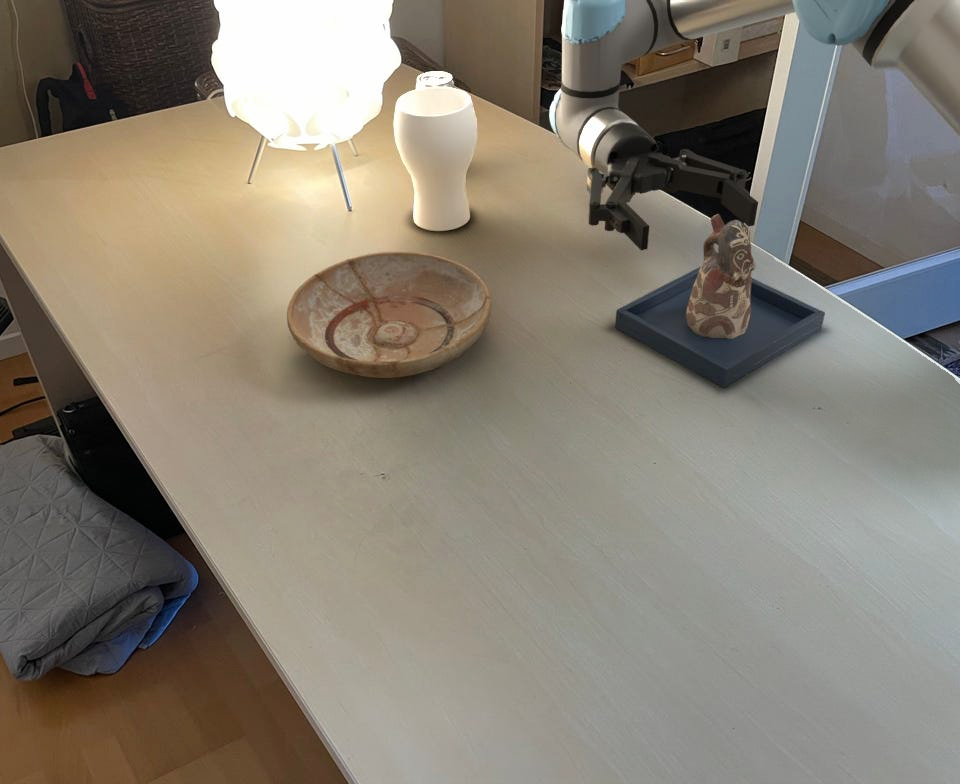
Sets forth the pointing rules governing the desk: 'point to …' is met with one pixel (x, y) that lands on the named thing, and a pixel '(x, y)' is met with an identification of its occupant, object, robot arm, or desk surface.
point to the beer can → (434, 80)
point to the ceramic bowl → (389, 313)
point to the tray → (719, 359)
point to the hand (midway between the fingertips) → (700, 226)
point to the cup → (437, 152)
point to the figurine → (723, 283)
